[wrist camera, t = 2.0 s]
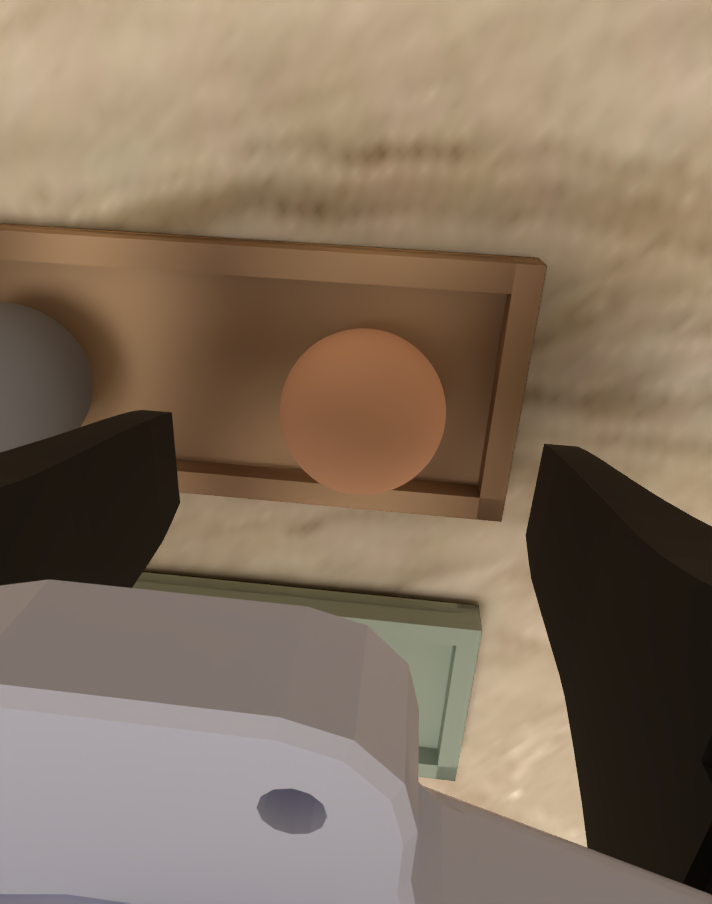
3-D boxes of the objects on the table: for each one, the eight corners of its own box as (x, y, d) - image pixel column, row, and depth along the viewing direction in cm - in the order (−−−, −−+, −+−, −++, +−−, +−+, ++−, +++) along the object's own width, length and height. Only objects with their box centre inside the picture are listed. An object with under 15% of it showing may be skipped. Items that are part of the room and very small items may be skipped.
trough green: (20, 702, 24) (2, 727, 23) (-18, 556, 21) (-41, 577, 20) (453, 752, 23) (455, 780, 22) (478, 605, 20) (481, 631, 19)
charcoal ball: (-4, 419, 18) (-108, 484, 15) (-35, 282, 17) (-161, 317, 13) (127, 430, 18) (54, 499, 15) (109, 292, 16) (22, 331, 13)
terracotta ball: (295, 445, 18) (264, 518, 14) (296, 305, 16) (261, 349, 12) (435, 456, 18) (438, 535, 14) (451, 316, 16) (460, 364, 12)
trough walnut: (-45, 452, 20) (-72, 469, 19) (-107, 216, 17) (-144, 221, 15) (496, 500, 18) (501, 521, 17) (538, 258, 15) (546, 265, 14)
